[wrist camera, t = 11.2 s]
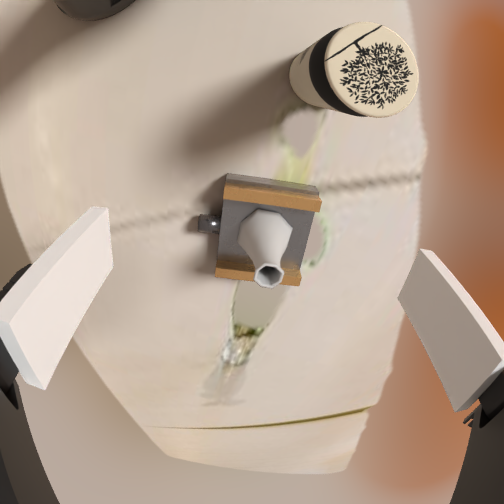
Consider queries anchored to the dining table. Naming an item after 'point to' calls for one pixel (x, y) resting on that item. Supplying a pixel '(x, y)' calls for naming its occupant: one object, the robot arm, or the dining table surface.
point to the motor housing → (269, 199)
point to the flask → (265, 245)
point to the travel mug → (357, 71)
